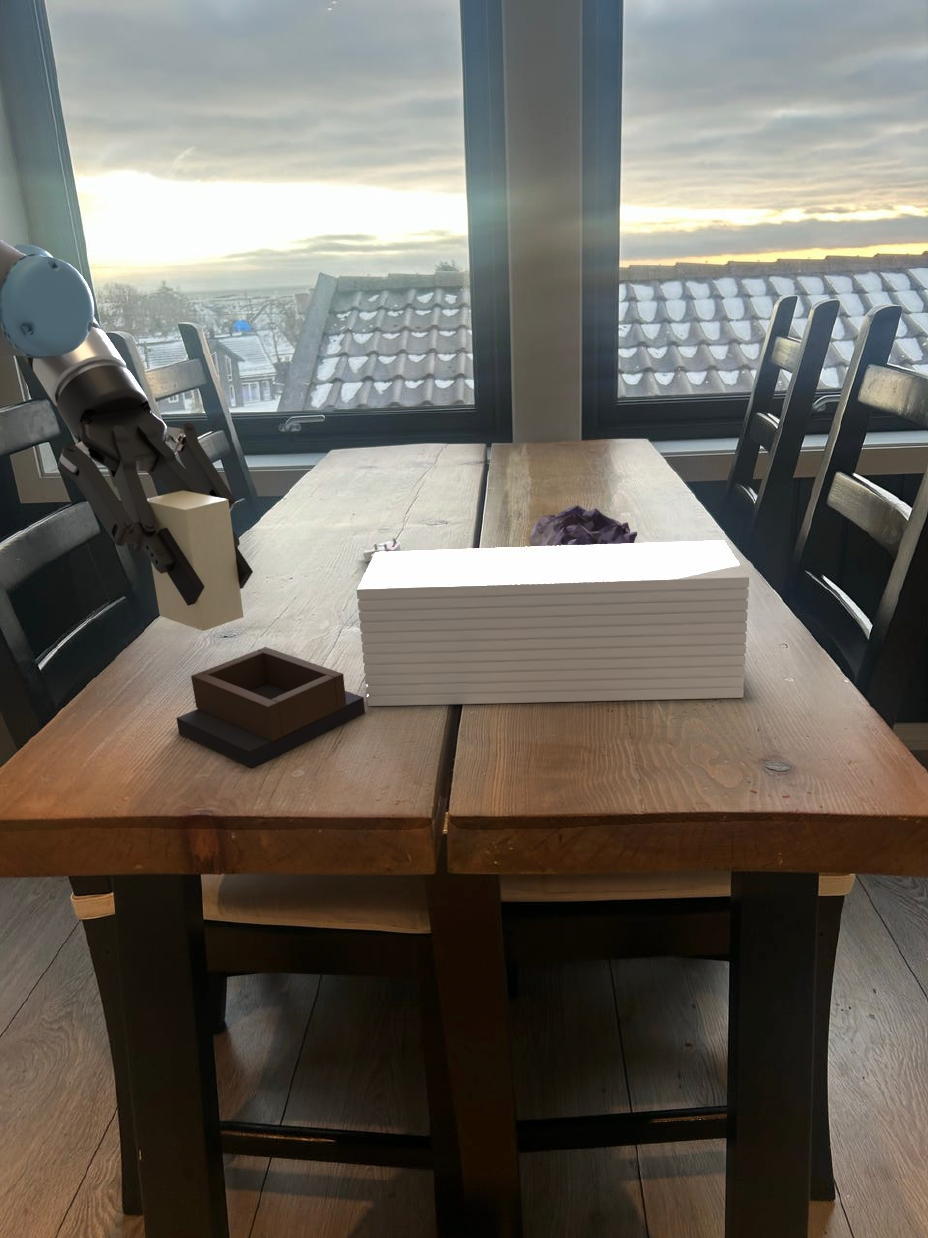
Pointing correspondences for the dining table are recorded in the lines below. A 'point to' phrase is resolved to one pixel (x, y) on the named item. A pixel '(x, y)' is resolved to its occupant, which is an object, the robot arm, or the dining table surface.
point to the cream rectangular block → (199, 558)
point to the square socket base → (266, 705)
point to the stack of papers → (554, 624)
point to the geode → (579, 529)
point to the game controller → (383, 549)
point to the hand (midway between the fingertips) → (220, 588)
